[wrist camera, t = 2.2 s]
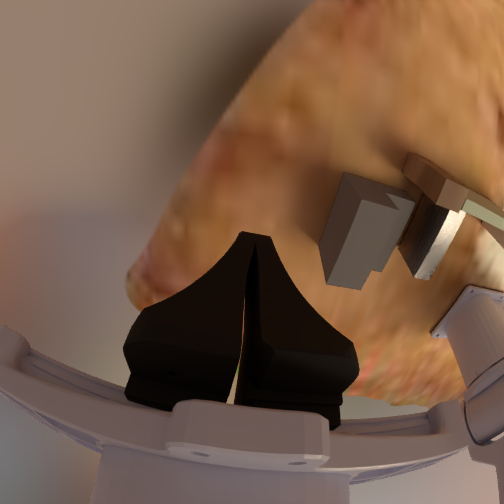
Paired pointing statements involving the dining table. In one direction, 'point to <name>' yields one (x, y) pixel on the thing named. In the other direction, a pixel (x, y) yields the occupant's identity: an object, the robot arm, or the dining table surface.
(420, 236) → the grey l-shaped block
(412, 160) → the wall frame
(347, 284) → the block
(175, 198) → the dining table surface
